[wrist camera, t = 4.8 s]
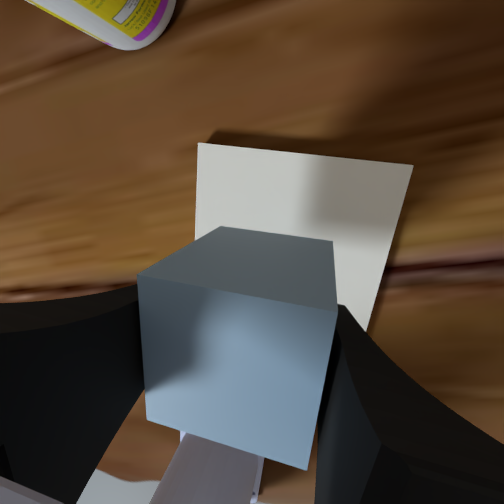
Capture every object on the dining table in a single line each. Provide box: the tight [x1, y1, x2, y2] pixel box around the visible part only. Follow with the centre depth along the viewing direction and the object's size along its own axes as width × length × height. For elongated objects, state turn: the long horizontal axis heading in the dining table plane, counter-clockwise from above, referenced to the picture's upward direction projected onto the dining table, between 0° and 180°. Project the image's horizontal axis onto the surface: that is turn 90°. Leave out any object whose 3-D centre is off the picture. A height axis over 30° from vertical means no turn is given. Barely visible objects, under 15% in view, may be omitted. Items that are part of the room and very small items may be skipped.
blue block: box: [137, 226, 338, 471], centre depth 10 cm, size 5×5×6 cm
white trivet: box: [195, 143, 414, 332], centre depth 18 cm, size 12×12×1 cm
